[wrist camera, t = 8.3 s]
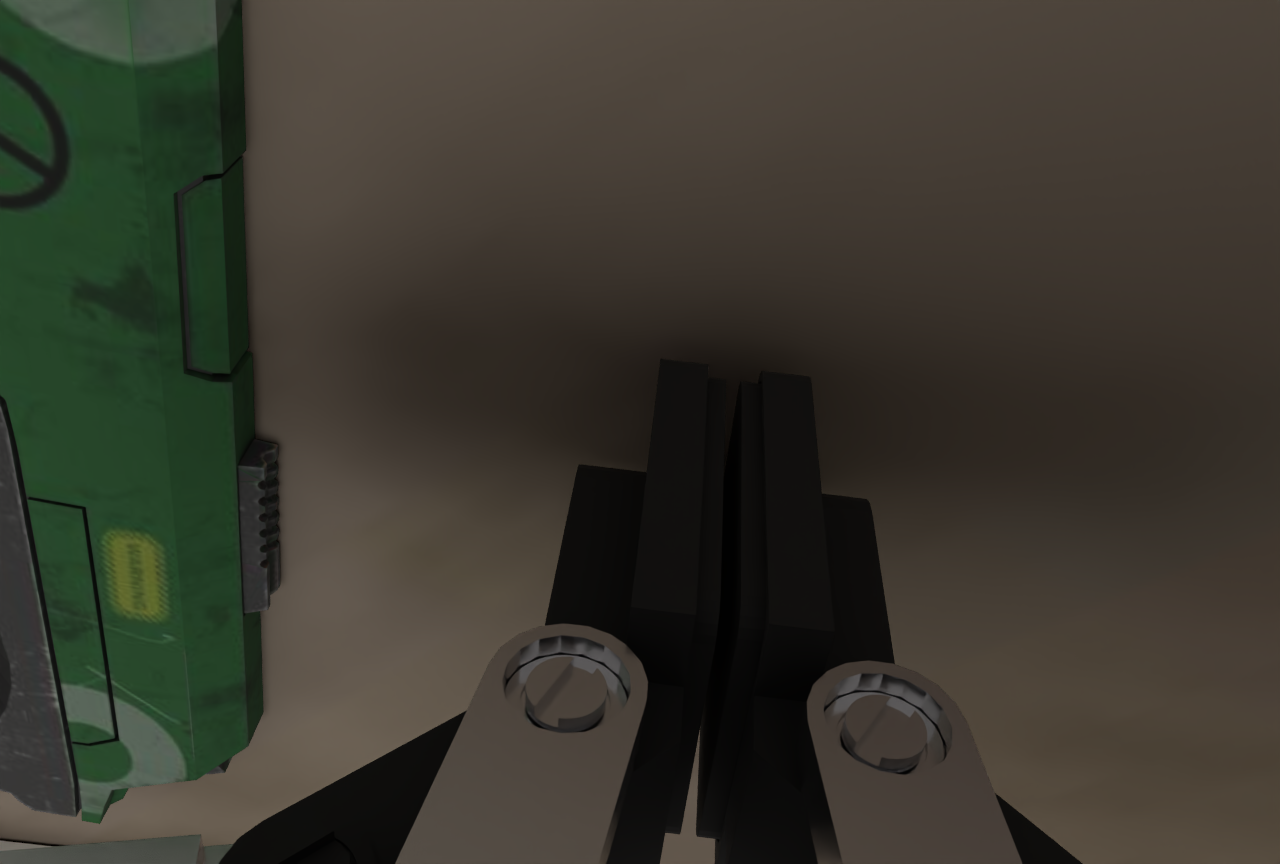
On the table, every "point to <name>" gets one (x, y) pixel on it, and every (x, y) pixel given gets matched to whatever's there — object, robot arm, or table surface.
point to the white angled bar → (18, 846)
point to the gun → (126, 403)
